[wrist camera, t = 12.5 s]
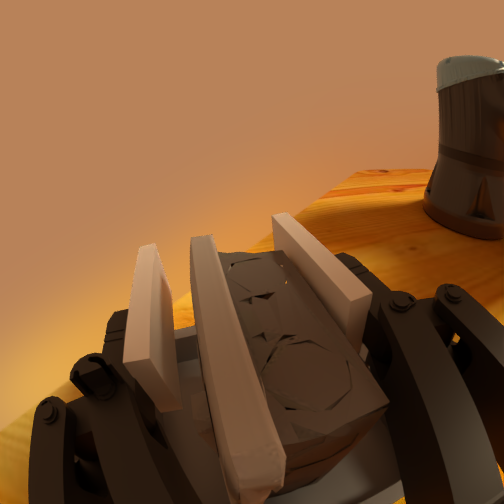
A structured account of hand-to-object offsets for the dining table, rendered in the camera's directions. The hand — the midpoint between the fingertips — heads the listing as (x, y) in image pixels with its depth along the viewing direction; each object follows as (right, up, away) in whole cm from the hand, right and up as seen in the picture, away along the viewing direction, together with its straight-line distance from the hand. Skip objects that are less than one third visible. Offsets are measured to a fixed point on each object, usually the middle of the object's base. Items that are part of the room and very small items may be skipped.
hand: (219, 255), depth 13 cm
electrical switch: (+2, -9, -1) cm, 9 cm away
